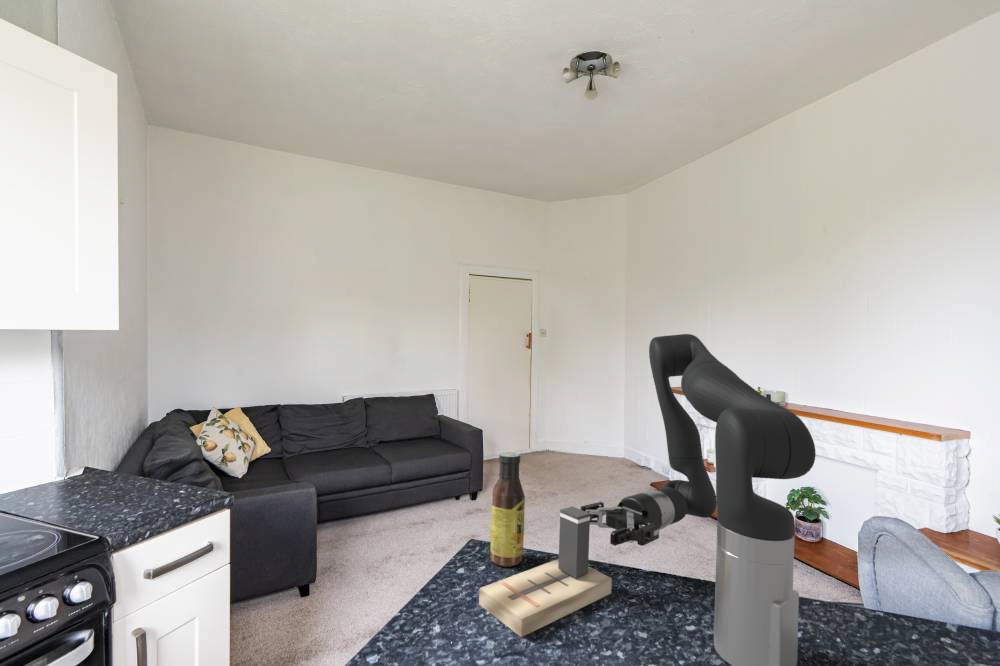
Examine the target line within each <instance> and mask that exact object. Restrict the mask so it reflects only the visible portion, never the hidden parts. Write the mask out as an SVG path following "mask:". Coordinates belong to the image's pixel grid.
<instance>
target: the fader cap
mask: <svg viewBox="0 0 1000 666" xmlns="http://www.w3.org/2000/svg"><path fill="white" fill-rule="evenodd" d="M559 516H560V517H559V535H558V536H559V539H558V542H559V543H558V559H559V563H558V569H560V570H562V571H564V572H565V573H567V574H569V575H571V576H573V577H574V578H578V577H580V576H583V575H585V574H587V573H588V566H589V553H590V551H589V550H590V529H591V528H590V526H591V525H590V513H588V512H585V511H583V510H581V508H577V507H575V506H569V507H566V508H561V509H560V511H559Z"/></svg>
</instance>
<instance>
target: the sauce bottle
mask: <svg viewBox="0 0 1000 666" xmlns="http://www.w3.org/2000/svg"><path fill="white" fill-rule="evenodd" d="M498 455H499V456H498V462H499V473H498V477H499V478H498V480H497V481H496V483H495V484H494V487H493V488H492V503H491V515H490V516H491V519H490V521H491V522H490V555H489V556H490V560H491V562H492V563H494V564H495V565H497V566H500V567H508V568H509V567H515V566H518V565H519V564H520V563H521V562H522V560H523V553H524V535H525V533H524V531H525V507H526V506H525V505H526V504H525V503H526V501H525V500H526V495H525V492H524V490H523V487H522V482H521V480H520V463H521V454H520V453H516V452H512V451H511V452H510V451H509V452H507V451H506V452H501V453H499V454H498ZM513 547H515V548H513ZM518 548H520V549H518ZM522 549H523V550H522Z"/></svg>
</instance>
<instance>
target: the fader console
mask: <svg viewBox="0 0 1000 666" xmlns="http://www.w3.org/2000/svg"><path fill="white" fill-rule="evenodd" d="M558 563H559V558H557V559H554V560H551V561H548V562H546V563H544V564H540V565H538V566H535V567H532V568H530V569H527V570H525V571H522V572H519V573H517V574H514V575H511V576H509V577H506V578H504V579H500V580H498V581H495V582H493V583H490V584H487V585H485V586H482V587H479V591H478V592H479V593H478V605H479V606H480V607H482V608H483V609H484V610H486V612H488V613H489V614H491V615H492V616H493V617H494V618H496V619H497V620H498V621H500V622H501V623H502V624H504V625H505V626H506V627H508V628H509V629H510V630H511V631H512V632H514V633H515V634H516V635H517V636H519V637H520V638H523V637H525V636H526V635H529V634H531V633H533V632H535V631H537V630H539V629H541V628H544V627H545V626H547V625H550V624H551V623H554V622H556V621H558V620H559V619H562V618H564V617H566V616H568V615H570V614H571V613H575V612H576V611H578V610H580V609H582V608H584V607H586V606H589V605H591V604H592V603H595V602H597V601H599V600H601V599H603V598H605V597H607V596H609V595H611V594H612V586H613V585H612V581H613V579H612V577H610V576H608V575H606V574H604V573H602V572H600V571H599V570H597V569H594V568H592V567H591V566H589V565H588V573H587V574H585V575H583V576H580V577H578V578H574V577H573V576H571V575H569V574H567V573H565V572H564V571H562V570H560V569H558Z"/></svg>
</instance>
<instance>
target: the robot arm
mask: <svg viewBox="0 0 1000 666" xmlns="http://www.w3.org/2000/svg"><path fill="white" fill-rule="evenodd" d="M648 355H649V364H650V369H651V373H652V378H653V382H654V386H655V391H656V397H657V400H658V404H659V408H660V412H661V416H662V421H663V425H664V430H665V436H666V437H665V438H666V444H667V445H666V446H667V455H668V462H669V463H668V464H669V466H670V468H671V469H672V470H674V471H676V472H678V473H680V474H682V475H684V476H686V479H687V480H683V479H674V480H670V481H668V482H666V483H665V484H664V485H663V486H662V487H661V488H658V489H655V490H648V491H643V492H639V493H636V494H633V495H628V496H626V497H624V498H622V499H621V500H620V501H619V503H618V504H617V505H616V506H611V507H605V503H604V502H602V501H599V502H594V503H589V504H586V505H581V506H580V510H583V511H585V512H588V513H590V526H592V525H593V526H596V525H597V527H598V528H599V529H601V528H603V529H604V528H605V529H613V530H612V531H611V532H610V542H609V543H610V545H612V546H615V547H616V546H618V545H622V544H625V543H627V542H628V543H631V544H632V543H634V542H637V545H638V546H646V545H648V544H650V543H652V542H654V541H656V540H659V539H660V531H662V530H664V529H665V528H667V527H668V526H671V525H674V524H676V523H678V522H680V521H682V520H683V519H684V518H685V517H686V516H687V515H688V516H693V517H697V518H701V519H703V518H704V519H705V518H710V517H712V516H713V514H714V513H715V511H716V509H717V514H716V515H717V517H716V518H717V521H716V522H717V524H716V551H715V552H716V553H715V581H714V582H715V583H714V585H715V586H714V587H715V589H714V590H715V591H714V620H713V621H714V623H713V646H714V649H715V651H716V653H717V654H718V655H719V657H720V658H722V660H723V661H725V662H726V663H728V664H729V665H730V666H798V648H799V647H798V642H799V641H798V640H799V638H798V637H799V601H800V600H799V599H800V597H799V596H800V594H799V592H798V591H797V590H795V589H794V561H795V559H794V557H795V533H796V532H795V531H796V530H795V528H796V526H795V525H796V523H795V517H794V515H793V513H792V511H790V510H789V509H788V508H787V507H785V506H784V505H782V504H780V503H777V502H775V501H773V500H772V499H768V498H765V497H763V496H761V495H759V494H757V493H755V491H754V488H753V478H754V479H755V478H756V479H774V480H791V479H796V478H798V479H799V478H801V477H803V476H805V475H806V474H807V473H809V472H810V471H811V469H812V468H813V466H814V464H815V461H816V456H817V455H816V453H817V451H816V447H815V442H814V441H815V440H814V439H813V436H812V435H811V432H810V431H809V428H808V426H807V425H806V424H805V423H804V421H802V419H801V418H800V417H799V415H797V414H795V413H794V412H792V411H790V410H789V409H787V408H786V407H784V406H781V405H780V404H778V403H777V402H775V401H773V400H771V399H769V398H768V397H766V396H764V395H762V393H760V392H758V390H756V389H755V388H753V386H751V385H750V384H748V383H747V382H746V381H744V380H743V379H742V378H740V377H739V376H738V375H737V373H735V372H734V371H732V369H730V368H729V367H728V366H727V365H725V364H724V363H722V362H721V361H719V359H717V357H715V356H714V355H713V354H712V353H711V352H710V351H709V349H708V348H707V347H706V346H705V344H704V342H702V340H701V339H699V337H697V336H696V335H693V334H691V333H682V334H673V335H661V336H655V337H653V338H652V339H651V340H650V343H649V347H648ZM671 377H681V380H680V386H681V391H682V393H683V395H684V397H685V398H686V400H687V401H688V402H689V403H690V405H691V407H693V409H695V411H696V412H698V413H699V414H700V415H701V416H703V417H704V418H706V419H707V420H710V421H712V422H714V423H716V425H715V432H714V433H715V434H714V437H715V438H714V445H715V446H714V448H715V449H714V451H715V452H714V453H715V488H714V485H713V483H712V481H711V479H710V476H709V473H708V470H707V469H706V466H705V463H704V460H703V459H704V458H703V451H702V444H701V443H702V441H701V435H700V431H699V429H698V427H697V425H696V422H695V421H694V419H692V417H691V416H690V415H689V412H687V411H686V409H685V408H684V407H683V405H681V402H679V400H678V398H677V397H676V396H675V394H674V392H673V389H672V386H671V384H670V378H671ZM604 516H605V522H603V517H604Z"/></svg>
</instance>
